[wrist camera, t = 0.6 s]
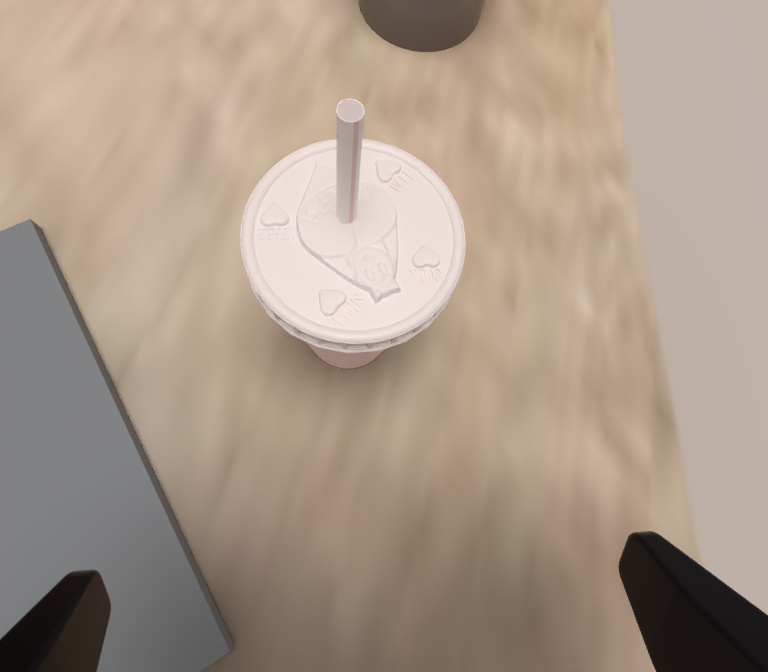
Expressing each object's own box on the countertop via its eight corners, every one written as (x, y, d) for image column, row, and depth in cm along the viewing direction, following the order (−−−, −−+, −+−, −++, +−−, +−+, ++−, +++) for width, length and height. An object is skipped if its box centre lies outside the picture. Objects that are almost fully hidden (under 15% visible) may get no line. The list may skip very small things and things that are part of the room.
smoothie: (377, 244, 25) (426, -33, 11) (441, 359, 23) (583, 204, 10) (254, 299, 23) (142, 60, 10) (315, 424, 22) (281, 345, 9)
